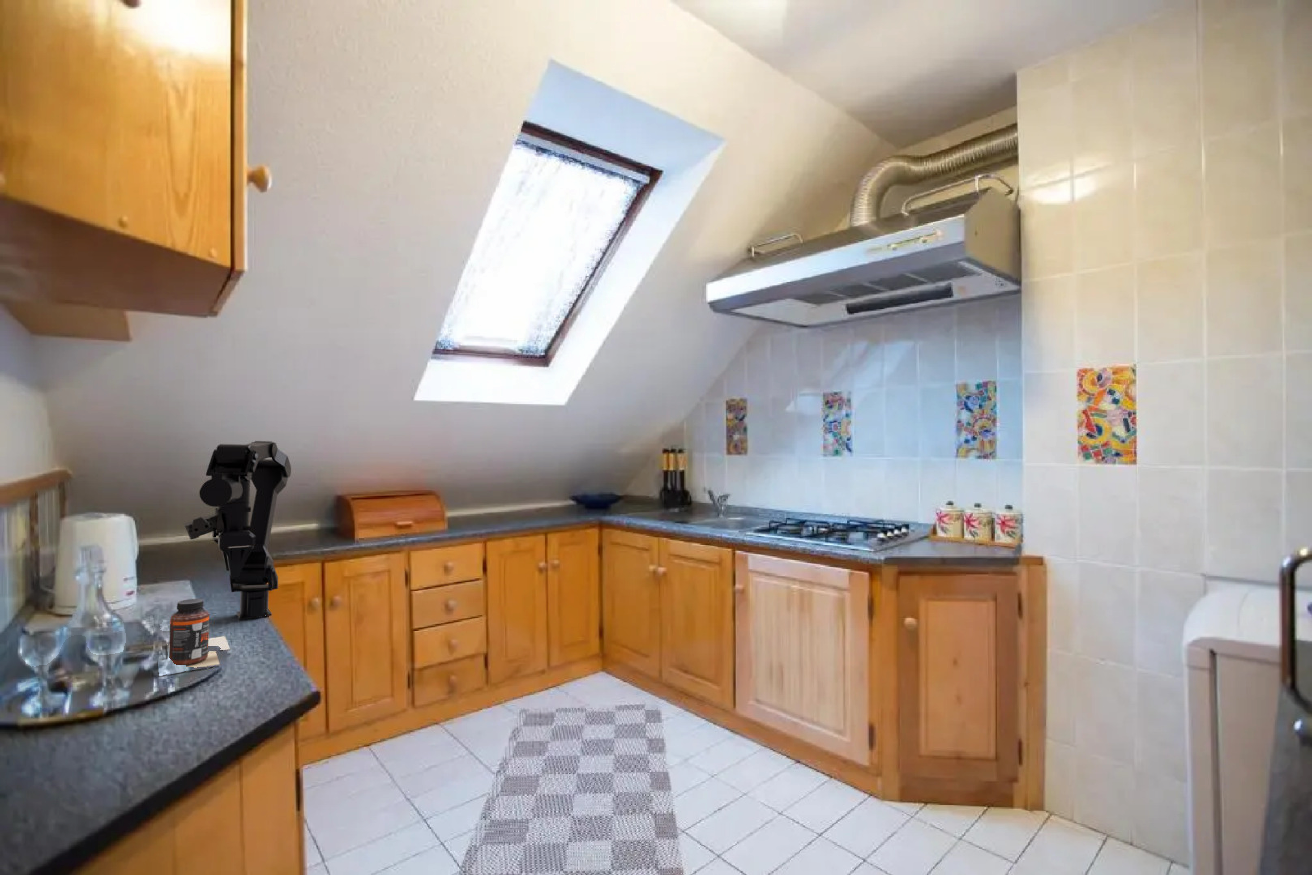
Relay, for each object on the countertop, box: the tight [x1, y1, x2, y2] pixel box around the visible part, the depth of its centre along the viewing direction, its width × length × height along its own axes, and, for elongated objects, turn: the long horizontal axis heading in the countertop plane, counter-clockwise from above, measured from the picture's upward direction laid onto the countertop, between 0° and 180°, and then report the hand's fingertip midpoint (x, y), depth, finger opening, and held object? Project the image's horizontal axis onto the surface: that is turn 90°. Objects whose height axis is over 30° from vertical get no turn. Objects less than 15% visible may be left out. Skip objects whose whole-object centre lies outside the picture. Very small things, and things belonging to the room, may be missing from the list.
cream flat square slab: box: [208, 635, 231, 651], centre depth 128 cm, size 10×10×1 cm
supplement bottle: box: [169, 598, 210, 665], centre depth 119 cm, size 6×6×11 cm
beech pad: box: [186, 651, 221, 668], centre depth 118 cm, size 9×9×1 cm
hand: (231, 574), depth 136 cm, fingers open, 9 cm apart
